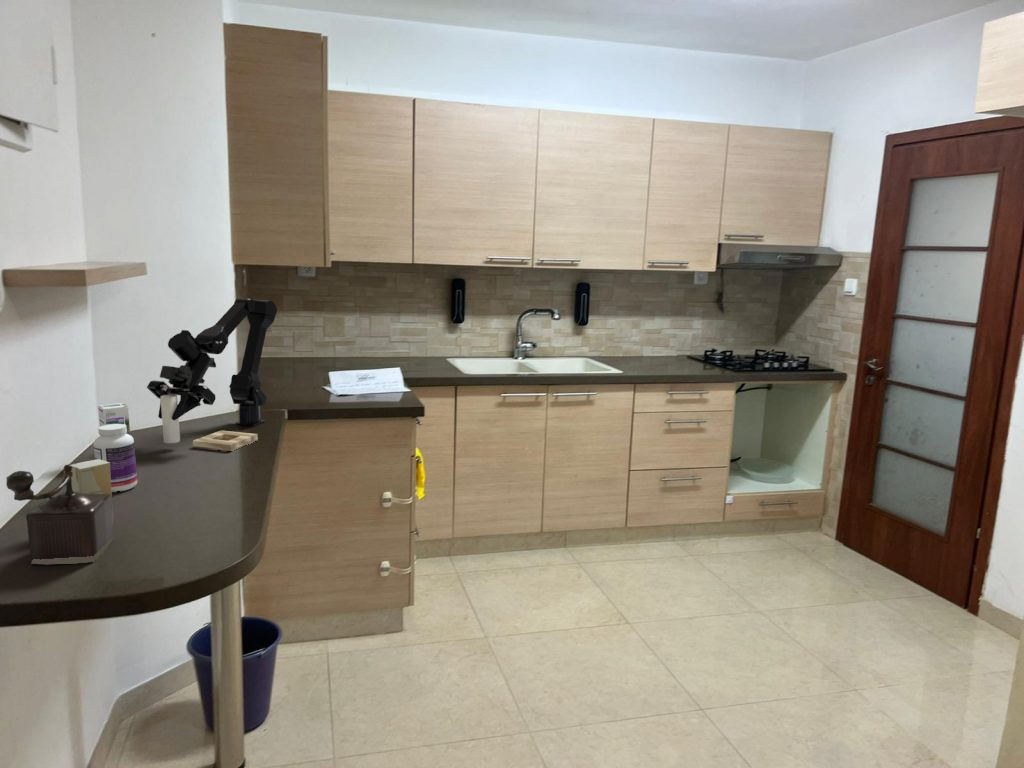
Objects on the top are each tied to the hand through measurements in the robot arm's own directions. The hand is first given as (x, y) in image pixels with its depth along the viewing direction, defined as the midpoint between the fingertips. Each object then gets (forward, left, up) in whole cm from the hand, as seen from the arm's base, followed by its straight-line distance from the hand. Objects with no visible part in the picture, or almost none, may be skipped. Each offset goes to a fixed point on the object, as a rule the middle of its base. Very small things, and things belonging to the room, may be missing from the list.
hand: (166, 418), depth 191 cm
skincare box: (+46, +21, -9) cm, 52 cm away
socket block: (-11, +10, -9) cm, 17 cm away
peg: (-1, 0, -7) cm, 7 cm away
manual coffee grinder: (+61, +30, -9) cm, 69 cm away
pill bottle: (+28, +10, -9) cm, 31 cm away
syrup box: (+11, -6, -9) cm, 16 cm away
